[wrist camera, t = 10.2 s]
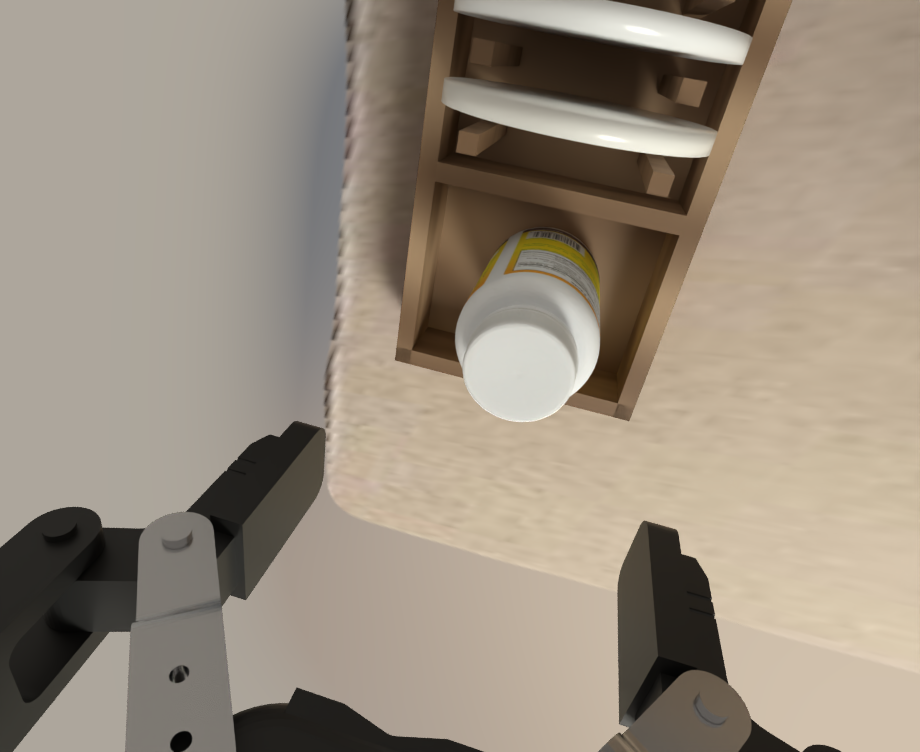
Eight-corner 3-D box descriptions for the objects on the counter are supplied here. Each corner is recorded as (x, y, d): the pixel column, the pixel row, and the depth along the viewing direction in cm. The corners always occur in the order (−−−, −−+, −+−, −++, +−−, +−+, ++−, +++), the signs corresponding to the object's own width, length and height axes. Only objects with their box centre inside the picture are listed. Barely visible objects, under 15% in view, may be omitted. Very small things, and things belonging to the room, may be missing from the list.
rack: (475, -93, 23) (419, -161, 16) (783, -43, 21) (866, -93, 15) (417, 329, 32) (366, 399, 25) (626, 381, 31) (632, 471, 24)
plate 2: (474, 75, 25) (408, 79, 16) (696, 118, 24) (745, 147, 15) (471, 92, 25) (406, 106, 17) (690, 136, 24) (735, 174, 16)
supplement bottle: (511, 343, 30) (473, 455, 22) (471, 246, 28) (412, 327, 20) (615, 312, 28) (620, 422, 20) (580, 205, 26) (568, 275, 17)
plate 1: (486, 1, 23) (420, -34, 15) (722, 44, 22) (791, 33, 14) (483, 21, 24) (417, -2, 15) (715, 64, 23) (778, 65, 14)
